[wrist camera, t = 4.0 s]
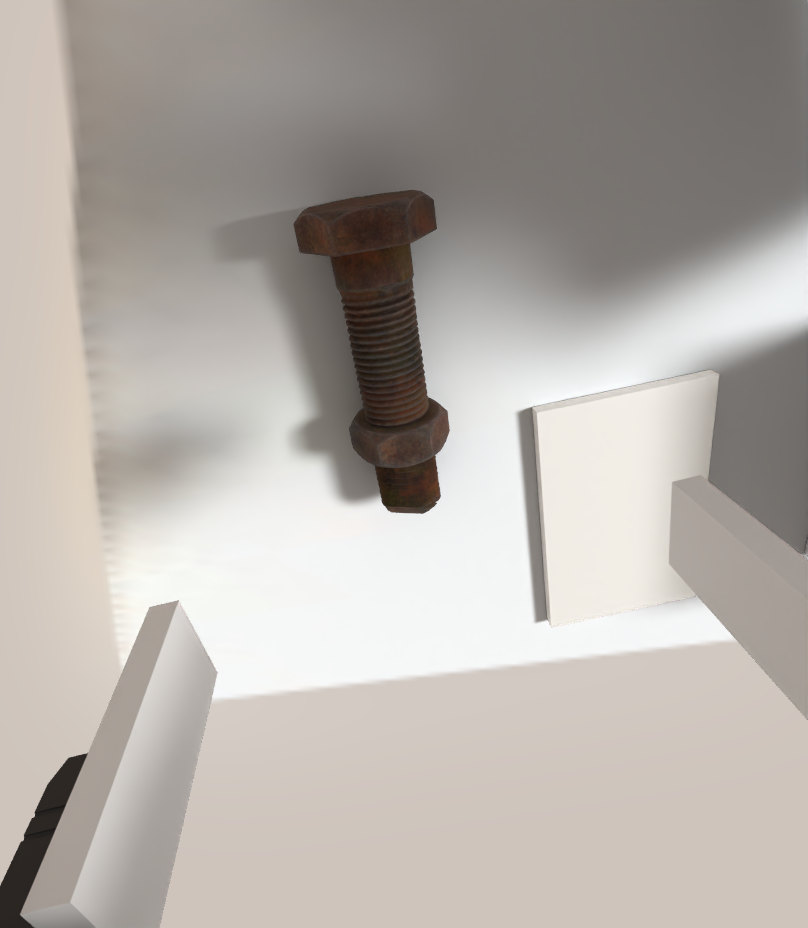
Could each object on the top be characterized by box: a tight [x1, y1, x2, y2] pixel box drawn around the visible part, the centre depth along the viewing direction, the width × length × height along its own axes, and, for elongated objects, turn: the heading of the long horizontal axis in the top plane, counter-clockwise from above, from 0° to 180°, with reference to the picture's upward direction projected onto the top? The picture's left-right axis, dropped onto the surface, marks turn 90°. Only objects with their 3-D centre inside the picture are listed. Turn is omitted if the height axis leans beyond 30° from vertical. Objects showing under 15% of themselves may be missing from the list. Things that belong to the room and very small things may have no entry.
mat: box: [532, 370, 720, 627], centre depth 33 cm, size 16×10×1 cm, turn 10°
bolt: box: [294, 190, 450, 514], centre depth 26 cm, size 6×5×15 cm
